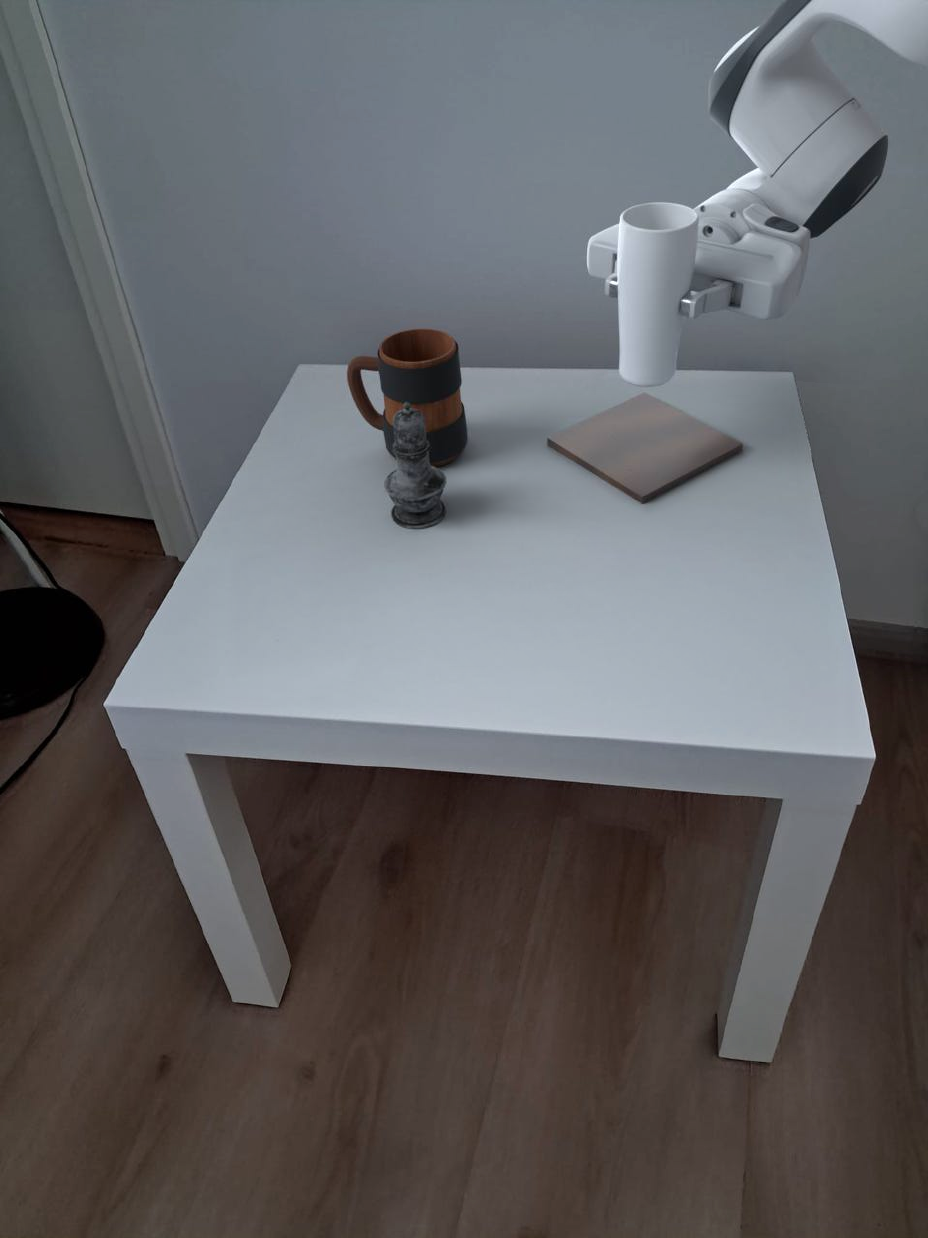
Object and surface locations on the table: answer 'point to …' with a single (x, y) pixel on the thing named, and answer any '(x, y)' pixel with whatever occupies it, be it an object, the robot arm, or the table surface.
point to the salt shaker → (414, 474)
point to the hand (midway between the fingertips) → (648, 299)
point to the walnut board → (644, 446)
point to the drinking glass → (653, 288)
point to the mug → (416, 389)
